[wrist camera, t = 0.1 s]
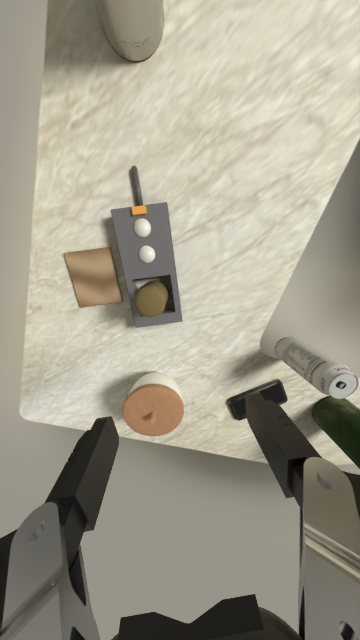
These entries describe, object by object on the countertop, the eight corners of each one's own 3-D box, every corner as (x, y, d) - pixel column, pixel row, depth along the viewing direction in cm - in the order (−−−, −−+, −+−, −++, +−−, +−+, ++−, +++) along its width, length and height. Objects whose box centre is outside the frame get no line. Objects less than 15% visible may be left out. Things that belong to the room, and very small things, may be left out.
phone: (227, 401, 45) (280, 379, 44) (225, 398, 46) (278, 377, 45) (236, 421, 47) (288, 402, 46) (235, 418, 48) (285, 399, 47)
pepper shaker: (142, 307, 38) (130, 321, 27) (141, 279, 36) (128, 283, 25) (169, 308, 38) (167, 322, 27) (169, 280, 36) (168, 284, 26)
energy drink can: (287, 360, 43) (345, 406, 29) (268, 352, 42) (317, 394, 28) (301, 341, 41) (370, 378, 27) (282, 331, 41) (342, 364, 26)
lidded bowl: (166, 354, 41) (164, 383, 30) (190, 392, 44) (195, 430, 34) (122, 376, 42) (106, 411, 32) (148, 411, 46) (141, 454, 35)
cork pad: (65, 253, 34) (63, 253, 33) (110, 247, 34) (109, 247, 33) (81, 306, 37) (80, 307, 36) (122, 301, 37) (121, 301, 36)
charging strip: (106, 171, 30) (98, 158, 27) (161, 164, 30) (160, 150, 27) (138, 323, 39) (135, 328, 35) (181, 317, 39) (182, 322, 35)
